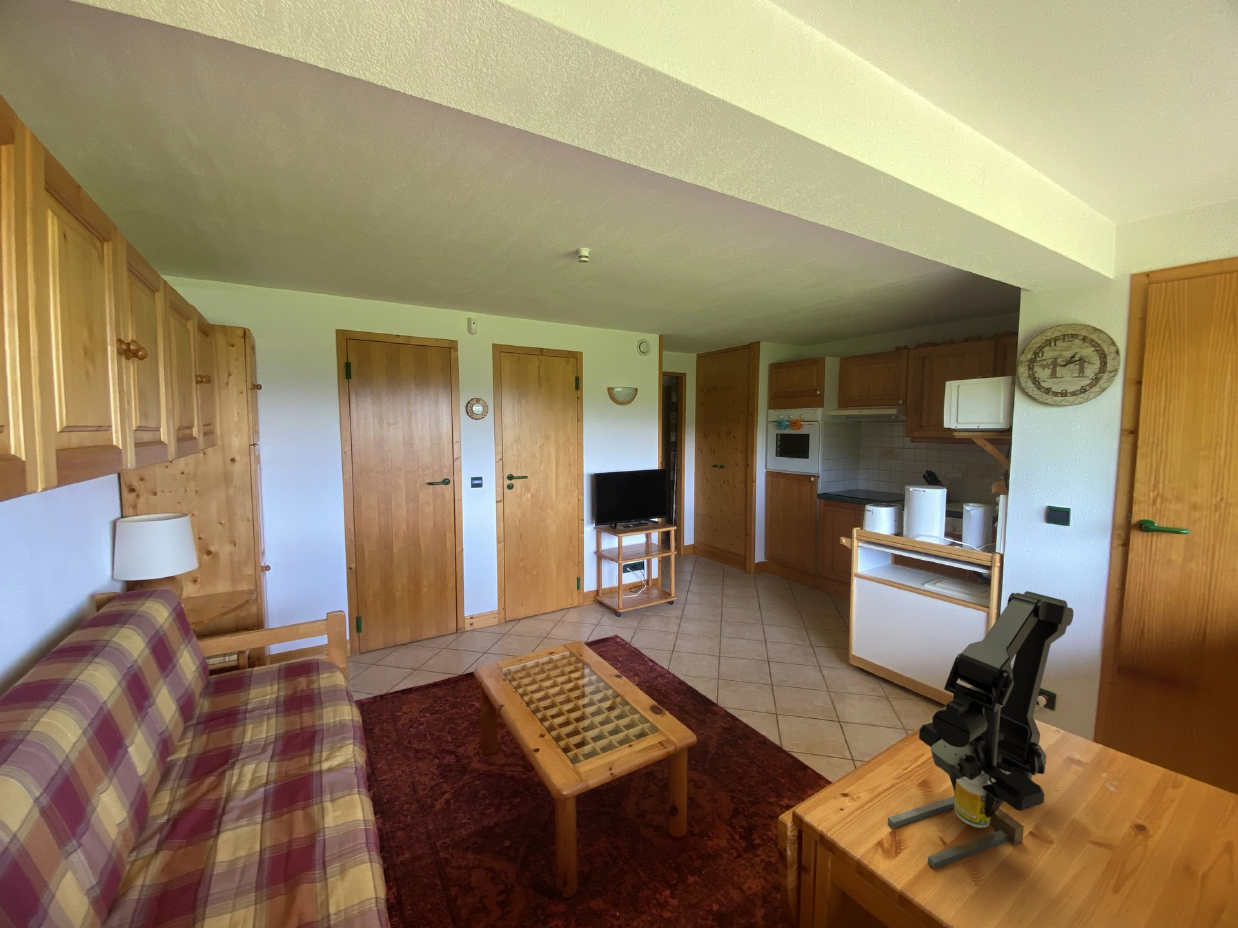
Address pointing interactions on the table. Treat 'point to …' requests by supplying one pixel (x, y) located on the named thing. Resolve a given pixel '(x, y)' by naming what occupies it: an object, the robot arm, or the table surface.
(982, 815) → the supplement bottle
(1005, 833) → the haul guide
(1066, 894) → the table surface
